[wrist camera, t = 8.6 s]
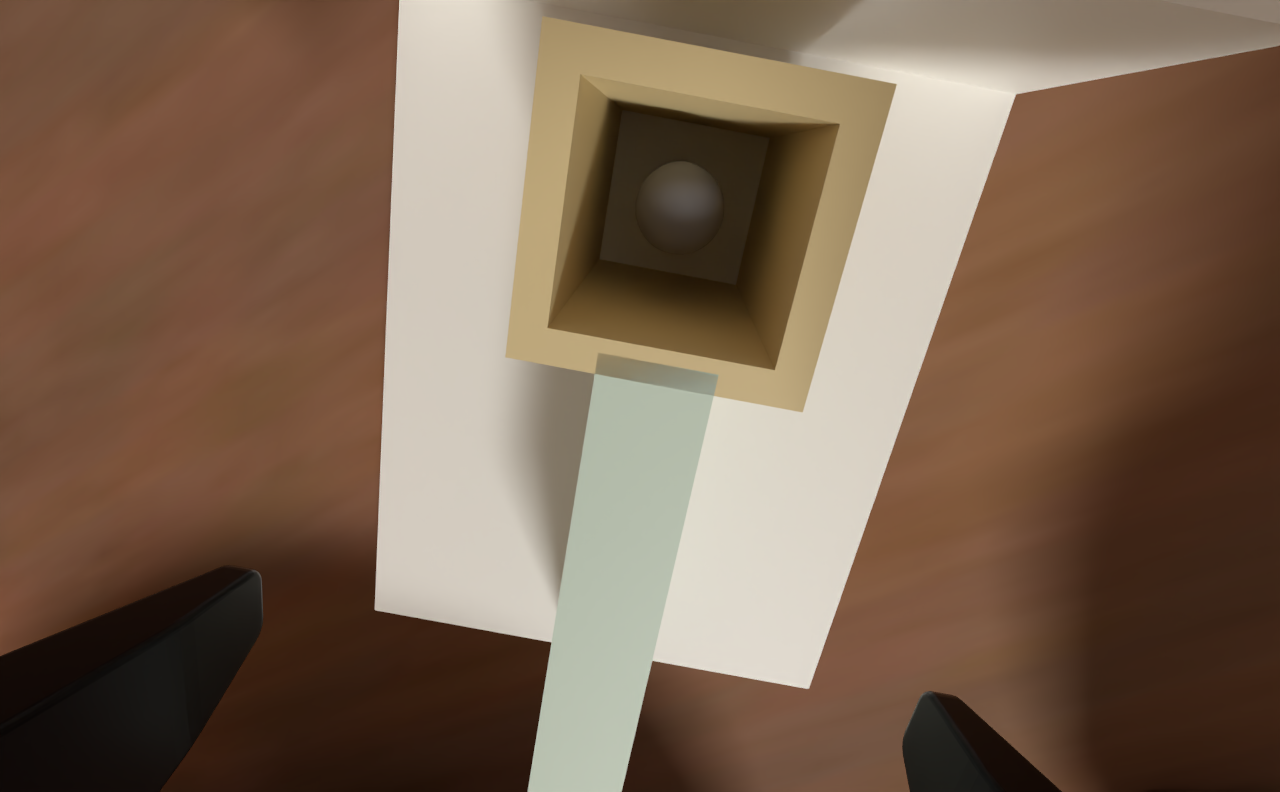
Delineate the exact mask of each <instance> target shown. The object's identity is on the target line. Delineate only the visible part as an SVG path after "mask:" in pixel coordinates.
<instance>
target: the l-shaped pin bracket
mask: <svg viewBox="0 0 1280 792" xmlns="http://www.w3.org/2000/svg"><path fill="white" fill-rule="evenodd" d="M542 16H544V17H549V18H555V19H560V20H565V21H570V22H575V23H581V24H586V25H591V26H596V27H602V28H607V29H612V30H617V31H622V32H628V33H633V34H638V35H643V36H649V37H654V38H659V39H664V40H670V41H675V42H680V43H685V44H690V45H696V46H701V47H706V48H711V49H717V50H722V51H727V52H732V53H737V54H743V55H748V56H753V57H758V58H764V59H769V60H774V61H779V62H784V63H790V64H795V65H800V66H805V67H811V68H816V69H821V70H826V71H831V72H837V73H842V74H847V75H852V76H858V77H863V78H868V79H873V80H878V81H884V82H889V83H894V84H897V86H896V89H895V93H894V96H893V100H892V103H891V107H890V110H889V114H888V117H887V121H886V124H885V128H884V131H883V135H882V138H881V141H880V145H879V148H878V152H877V155H876V159H875V162H874V166H873V169H872V173H871V176H870V180H869V183H868V187H867V190H866V194H865V197H864V201H863V204H862V208H861V211H860V215H859V218H858V222H857V225H856V229H855V232H854V235H853V239H852V242H851V246H850V249H849V253H848V256H847V260H846V263H845V267H844V270H843V274H842V277H841V281H840V284H839V288H838V291H837V295H836V298H835V302H834V305H833V309H832V312H831V316H830V319H829V323H828V326H827V330H826V333H825V336H824V340H823V343H822V347H821V350H820V354H819V357H818V361H817V364H816V368H815V371H814V375H813V378H812V382H811V385H810V389H809V392H808V396H807V399H806V403H805V406H804V410H803V412H797V411H792V410H787V409H781V408H776V407H771V406H765V405H760V404H754V403H749V402H744V401H738V400H733V399H727V398H722V397H717V396H714V397H713V401H712V406H711V410H710V414H709V419H708V423H707V427H706V432H705V436H704V440H703V444H702V449H701V453H700V457H699V462H698V466H697V470H696V475H695V479H694V483H693V487H692V492H691V496H690V500H689V505H688V509H687V513H686V518H685V522H684V526H683V530H682V535H681V539H680V543H679V548H678V552H677V556H676V561H675V565H674V569H673V573H672V578H671V582H670V586H669V591H668V595H667V599H666V604H665V608H664V612H663V616H662V621H661V625H660V629H659V634H658V638H657V642H656V647H655V651H654V655H653V659H652V661H657V662H662V663H668V664H673V665H679V666H684V667H690V668H695V669H701V670H707V671H712V672H718V673H723V674H729V675H734V676H740V677H745V678H751V679H756V680H762V681H767V682H773V683H778V684H784V685H789V686H795V687H800V688H806V689H809V687H810V684H811V681H812V678H813V675H814V672H815V670H816V667H817V664H818V661H819V658H820V655H821V652H822V649H823V647H824V644H825V641H826V638H827V635H828V632H829V629H830V627H831V624H832V621H833V618H834V615H835V612H836V609H837V606H838V604H839V601H840V598H841V595H842V592H843V589H844V586H845V583H846V581H847V578H848V575H849V572H850V569H851V566H852V563H853V561H854V558H855V555H856V552H857V549H858V546H859V543H860V540H861V538H862V535H863V532H864V529H865V526H866V523H867V520H868V517H869V515H870V512H871V509H872V506H873V503H874V500H875V497H876V494H877V492H878V489H879V486H880V483H881V480H882V477H883V474H884V472H885V469H886V466H887V463H888V460H889V457H890V454H891V451H892V449H893V446H894V443H895V440H896V437H897V434H898V431H899V428H900V426H901V423H902V420H903V417H904V414H905V411H906V408H907V406H908V403H909V400H910V397H911V394H912V391H913V388H914V385H915V383H916V380H917V377H918V374H919V371H920V368H921V365H922V362H923V360H924V357H925V354H926V351H927V348H928V345H929V342H930V340H931V337H932V334H933V331H934V328H935V325H936V322H937V319H938V317H939V314H940V311H941V308H942V305H943V302H944V299H945V296H946V294H947V291H948V288H949V285H950V282H951V279H952V276H953V273H954V271H955V268H956V265H957V262H958V259H959V256H960V253H961V251H962V248H963V245H964V242H965V239H966V236H967V233H968V230H969V228H970V225H971V222H972V219H973V216H974V213H975V210H976V207H977V205H978V202H979V199H980V196H981V193H982V190H983V187H984V185H985V182H986V179H987V176H988V173H989V170H990V167H991V164H992V162H993V159H994V156H995V153H996V150H997V147H998V144H999V141H1000V139H1001V136H1002V133H1003V130H1004V127H1005V124H1006V121H1007V119H1008V116H1009V113H1010V110H1011V107H1012V104H1013V101H1014V98H1015V96H1016V94H1020V93H1025V92H1031V91H1036V90H1042V89H1047V88H1053V87H1058V86H1063V85H1069V84H1074V83H1080V82H1085V81H1091V80H1096V79H1101V78H1107V77H1112V76H1118V75H1123V74H1129V73H1134V72H1140V71H1145V70H1150V69H1156V68H1161V67H1167V66H1172V65H1178V64H1183V63H1189V62H1194V61H1199V60H1205V59H1210V58H1216V57H1221V56H1227V55H1232V54H1237V53H1243V52H1248V51H1254V50H1259V49H1265V48H1270V47H1276V46H1280V0H399V22H398V46H397V71H396V96H395V120H394V145H393V170H392V194H391V219H390V244H389V268H388V293H387V318H386V342H385V367H384V392H383V416H382V441H381V465H380V490H379V515H378V539H377V564H376V589H375V610H376V611H381V612H387V613H392V614H398V615H404V616H409V617H415V618H420V619H426V620H431V621H437V622H442V623H448V624H453V625H459V626H464V627H470V628H475V629H481V630H486V631H492V632H497V633H503V634H508V635H514V636H519V637H525V638H530V639H536V640H541V641H547V642H552V637H553V630H554V624H555V618H556V612H557V606H558V599H559V593H560V587H561V581H562V575H563V568H564V562H565V556H566V550H567V543H568V537H569V531H570V525H571V519H572V512H573V506H574V500H575V494H576V488H577V481H578V475H579V469H580V463H581V457H582V450H583V444H584V438H585V432H586V426H587V419H588V413H589V407H590V401H591V394H592V388H593V382H594V376H595V374H593V373H587V372H582V371H577V370H571V369H566V368H560V367H555V366H550V365H544V364H539V363H533V362H528V361H523V360H517V359H512V358H506V357H505V355H506V346H507V337H508V328H509V318H510V309H511V300H512V291H513V282H514V272H515V263H516V254H517V245H518V235H519V226H520V217H521V208H522V199H523V189H524V180H525V171H526V162H527V152H528V143H529V134H530V125H531V116H532V106H533V97H534V88H535V79H536V69H537V60H538V51H539V42H540V33H541V23H542ZM769 139H770V138H768V137H763V136H757V135H752V134H747V133H742V132H736V131H731V130H726V129H721V128H715V127H710V126H705V125H699V124H694V123H689V122H684V121H678V120H673V119H668V118H663V117H657V116H652V115H647V114H642V113H636V112H631V111H626V110H622V115H621V122H620V128H619V135H618V141H617V148H616V154H615V161H614V167H613V174H612V180H611V187H610V193H609V200H608V207H607V213H606V220H605V226H604V233H603V239H602V246H601V252H600V259H601V260H606V261H612V262H617V263H622V264H628V265H633V266H638V267H644V268H649V269H654V270H660V271H665V272H670V273H676V274H681V275H686V276H692V277H697V278H702V279H708V280H713V281H718V282H724V283H729V284H734V285H736V282H737V278H738V273H739V269H740V265H741V260H742V256H743V252H744V247H745V243H746V239H747V234H748V230H749V226H750V221H751V217H752V213H753V208H754V204H755V200H756V195H757V191H758V187H759V182H760V178H761V174H762V169H763V165H764V161H765V156H766V152H767V148H768V143H769Z"/></svg>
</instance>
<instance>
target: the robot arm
mask: <svg viewBox="0 0 1280 792" xmlns="http://www.w3.org/2000/svg"><path fill="white" fill-rule="evenodd" d="M262 624H263V600H262V579H261V576H260V573H259V572H258V571H256V570H254V569H249V568H243V567H238V566H231V565H227V566H223V567H220V568H217V569H215V570H212V571H210V572H208V573H205V574H203V575H200V576H198V577H195V578H193V579H190V580H188V581H185V582H183V583H180V584H178V585H175V586H173V587H170V588H168V589H165V590H163V591H160V592H158V593H156V594H153V595H151V596H148V597H146V598H143V599H141V600H138V601H136V602H133V603H131V604H128V605H126V606H123V607H121V608H118V609H116V610H113V611H111V612H108V613H106V614H104V615H101V616H99V617H96V618H94V619H91V620H89V621H86V622H84V623H81V624H79V625H76V626H74V627H71V628H69V629H66V630H64V631H61V632H59V633H56V634H54V635H52V636H49V637H47V638H44V639H42V640H39V641H37V642H34V643H32V644H29V645H27V646H24V647H22V648H19V649H17V650H14V651H12V652H9V653H7V654H4V655H2V656H0V792H159V791H160V790H161V788H162V787H163V786H164V784H165V783H166V782H167V780H168V779H169V777H170V776H171V775H172V773H173V772H174V771H175V769H176V768H177V767H178V765H179V764H180V762H181V761H182V760H183V758H184V757H185V755H186V754H187V753H188V751H189V750H190V748H191V747H192V745H193V744H194V742H195V741H196V739H197V737H198V736H199V734H200V733H201V731H202V730H203V728H204V726H205V725H206V723H207V721H208V720H209V718H210V716H211V715H212V713H213V711H214V710H215V708H216V706H217V705H218V703H219V701H220V700H221V698H222V696H223V695H224V693H225V691H226V690H227V688H228V686H229V685H230V683H231V681H232V680H233V678H234V676H235V675H236V673H237V671H238V670H239V668H240V666H241V665H242V663H243V662H244V660H245V658H246V657H247V655H248V653H249V652H250V650H251V648H252V647H253V645H254V643H255V642H256V640H257V638H258V636H259V634H260V631H261V628H262ZM902 747H903V757H904V763H905V768H906V773H907V779H908V784H909V789H910V792H1062V791H1061V790H1059V789H1058V788H1057V787H1056V786H1055V785H1054V784H1053V783H1052V782H1051V781H1050V780H1048V779H1047V778H1046V777H1045V776H1044V775H1043V774H1042V773H1041V772H1040V771H1039V770H1038V769H1036V768H1035V767H1034V766H1033V765H1032V764H1031V763H1030V762H1029V761H1028V760H1027V759H1025V758H1024V757H1023V756H1022V755H1021V754H1020V753H1019V752H1018V751H1017V750H1016V749H1014V748H1013V747H1012V746H1011V745H1010V744H1009V743H1008V742H1007V741H1006V740H1005V739H1003V738H1002V737H1001V736H1000V735H999V734H998V733H997V732H996V731H995V730H994V729H993V728H991V727H990V726H989V725H988V724H987V723H986V722H985V721H984V720H983V719H982V718H980V717H979V716H978V715H977V714H976V713H975V712H974V711H973V710H972V709H971V708H969V707H968V706H967V705H966V704H965V703H964V702H963V701H962V700H960V699H959V698H958V697H956V696H953V695H949V694H944V693H938V692H932V691H928V692H925V693H923V694H922V695H921V697H920V699H919V701H918V703H917V705H916V708H915V710H914V712H913V715H912V717H911V719H910V722H909V724H908V726H907V729H906V731H905V734H904V737H903V746H902Z"/></svg>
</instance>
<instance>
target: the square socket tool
mask: <svg viewBox="0 0 1280 792" xmlns="http://www.w3.org/2000/svg"><path fill="white" fill-rule="evenodd" d="M896 86H897V84H894V83H889V82H884V81H878V80H873V79H868V78H863V77H858V76H852V75H847V74H842V73H837V72H831V71H826V70H821V69H816V68H811V67H805V66H800V65H795V64H790V63H784V62H779V61H774V60H769V59H764V58H758V57H753V56H748V55H743V54H737V53H732V52H727V51H722V50H717V49H711V48H706V47H701V46H696V45H690V44H685V43H680V42H675V41H670V40H664V39H659V38H654V37H649V36H643V35H638V34H633V33H628V32H622V31H617V30H612V29H607V28H602V27H596V26H591V25H586V24H581V23H575V22H570V21H565V20H560V19H555V18H549V17H544V16H542V23H541V33H540V42H539V51H538V60H537V69H536V79H535V88H534V97H533V106H532V116H531V125H530V134H529V143H528V152H527V162H526V171H525V180H524V189H523V199H522V208H521V217H520V226H519V235H518V245H517V254H516V263H515V272H514V282H513V291H512V300H511V309H510V318H509V328H508V337H507V346H506V355H505V357H506V358H512V359H517V360H523V361H528V362H533V363H539V364H544V365H550V366H555V367H560V368H566V369H571V370H577V371H582V372H587V373H593V374H595V376H594V382H593V388H592V394H591V401H590V407H589V413H588V419H587V426H586V432H585V438H584V444H583V450H582V457H581V463H580V469H579V475H578V481H577V488H576V494H575V500H574V506H573V512H572V519H571V525H570V531H569V537H568V543H567V550H566V556H565V562H564V568H563V575H562V581H561V587H560V593H559V599H558V606H557V612H556V618H555V624H554V630H553V637H552V643H551V649H550V655H549V661H548V668H547V674H546V680H545V686H544V692H543V699H542V705H541V711H540V717H539V724H538V730H537V736H536V742H535V748H534V755H533V761H532V767H531V773H530V779H529V786H528V792H622V788H623V784H624V780H625V776H626V771H627V767H628V763H629V758H630V754H631V750H632V745H633V741H634V737H635V733H636V728H637V724H638V720H639V715H640V711H641V707H642V702H643V698H644V694H645V690H646V685H647V681H648V677H649V672H650V668H651V664H652V659H653V655H654V651H655V647H656V642H657V638H658V634H659V629H660V625H661V621H662V616H663V612H664V608H665V604H666V599H667V595H668V591H669V586H670V582H671V578H672V573H673V569H674V565H675V561H676V556H677V552H678V548H679V543H680V539H681V535H682V530H683V526H684V522H685V518H686V513H687V509H688V505H689V500H690V496H691V492H692V487H693V483H694V479H695V475H696V470H697V466H698V462H699V457H700V453H701V449H702V444H703V440H704V436H705V432H706V427H707V423H708V419H709V414H710V410H711V406H712V401H713V397H714V396H717V397H722V398H727V399H733V400H738V401H744V402H749V403H754V404H760V405H765V406H771V407H776V408H781V409H787V410H792V411H797V412H803V410H804V406H805V403H806V399H807V396H808V392H809V389H810V385H811V382H812V378H813V375H814V371H815V368H816V364H817V361H818V357H819V354H820V350H821V347H822V343H823V340H824V336H825V333H826V330H827V326H828V323H829V319H830V316H831V312H832V309H833V305H834V302H835V298H836V295H837V291H838V288H839V284H840V281H841V277H842V274H843V270H844V267H845V263H846V260H847V256H848V253H849V249H850V246H851V242H852V239H853V235H854V232H855V229H856V225H857V222H858V218H859V215H860V211H861V208H862V204H863V201H864V197H865V194H866V190H867V187H868V183H869V180H870V176H871V173H872V169H873V166H874V162H875V159H876V155H877V152H878V148H879V145H880V141H881V138H882V135H883V131H884V128H885V124H886V121H887V117H888V114H889V110H890V107H891V103H892V100H893V96H894V93H895V89H896ZM622 110H626V111H631V112H636V113H642V114H647V115H652V116H657V117H663V118H668V119H673V120H678V121H684V122H689V123H694V124H699V125H705V126H710V127H715V128H721V129H726V130H731V131H736V132H742V133H747V134H752V135H757V136H763V137H768V138H770V139H769V143H768V148H767V152H766V156H765V161H764V165H763V169H762V174H761V178H760V182H759V187H758V191H757V195H756V200H755V204H754V208H753V213H752V217H751V221H750V226H749V230H748V234H747V239H746V243H745V247H744V252H743V256H742V260H741V265H740V269H739V273H738V278H737V282H736V285H734V284H729V283H724V282H718V281H713V280H708V279H702V278H697V277H692V276H686V275H681V274H676V273H670V272H665V271H660V270H654V269H649V268H644V267H638V266H633V265H628V264H622V263H617V262H612V261H606V260H601V259H600V252H601V246H602V239H603V233H604V226H605V220H606V213H607V207H608V200H609V193H610V187H611V180H612V174H613V167H614V161H615V154H616V148H617V141H618V135H619V128H620V122H621V115H622Z"/></svg>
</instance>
